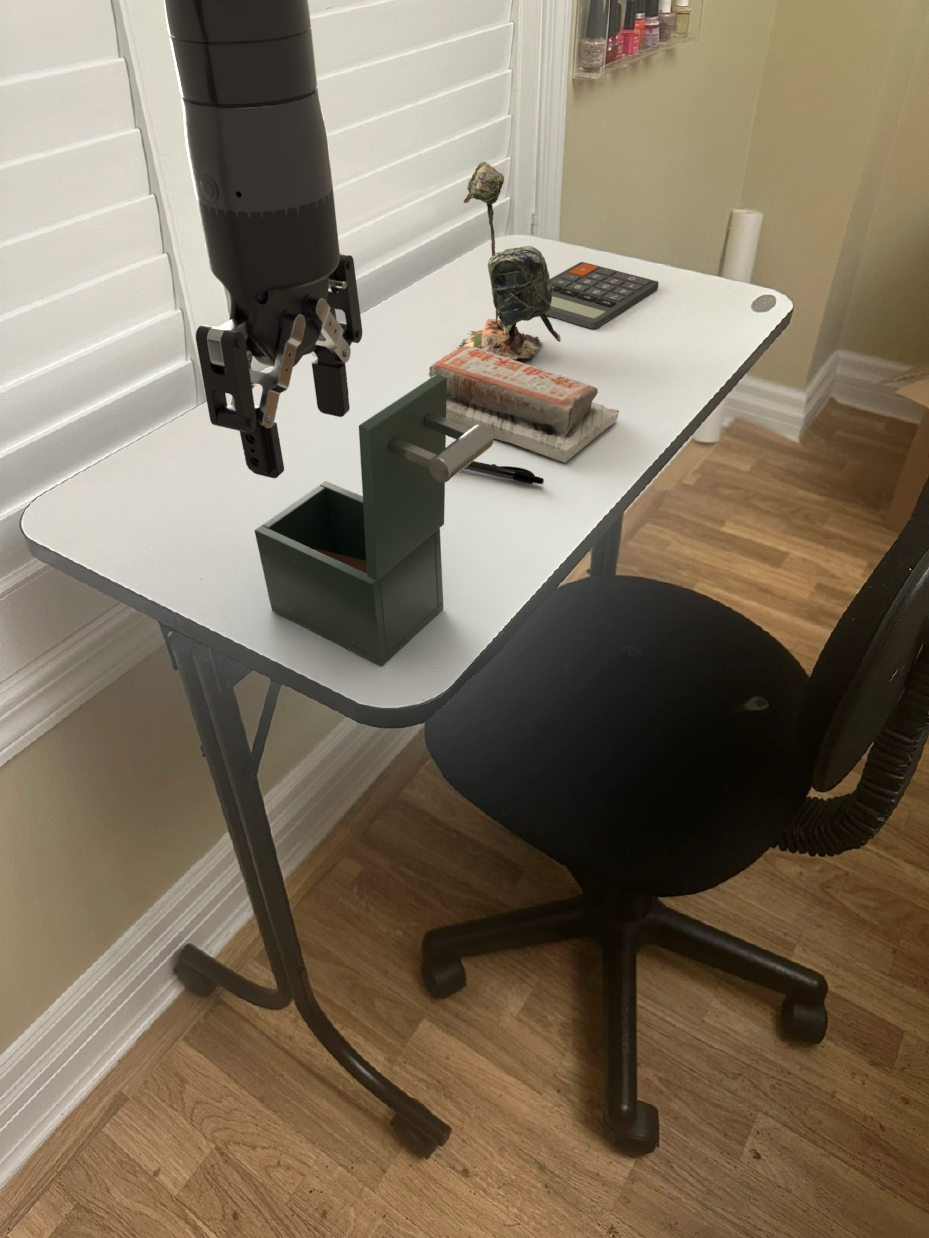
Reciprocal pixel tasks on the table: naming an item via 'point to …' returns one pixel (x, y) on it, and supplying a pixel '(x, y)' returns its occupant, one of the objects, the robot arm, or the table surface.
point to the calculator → (595, 294)
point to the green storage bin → (346, 576)
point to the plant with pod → (510, 283)
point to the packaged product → (521, 402)
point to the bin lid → (411, 471)
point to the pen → (505, 472)
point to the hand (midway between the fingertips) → (302, 441)
